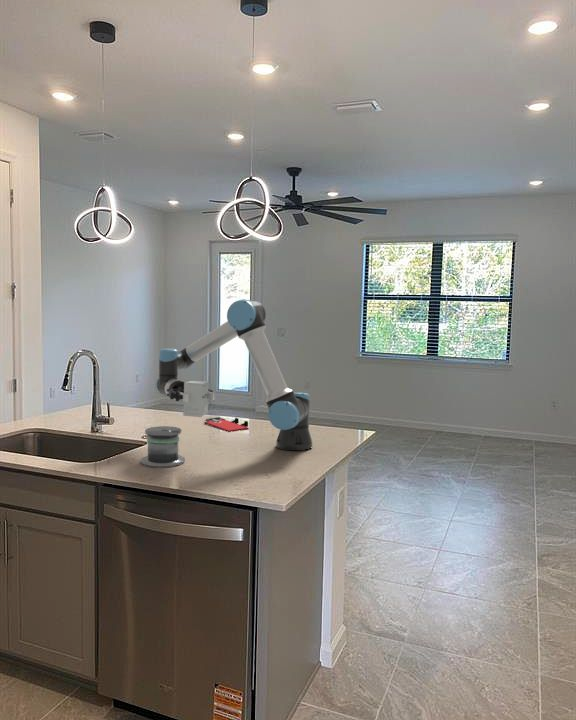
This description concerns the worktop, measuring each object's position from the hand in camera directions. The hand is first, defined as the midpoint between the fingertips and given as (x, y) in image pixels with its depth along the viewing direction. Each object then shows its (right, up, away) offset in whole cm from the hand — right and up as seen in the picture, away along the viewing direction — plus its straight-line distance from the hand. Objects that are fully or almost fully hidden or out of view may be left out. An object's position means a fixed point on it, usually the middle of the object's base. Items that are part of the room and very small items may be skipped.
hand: (200, 397), depth 217 cm
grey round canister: (-14, -24, -1) cm, 27 cm away
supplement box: (-3, -7, +4) cm, 9 cm away
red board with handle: (+1, -19, +71) cm, 73 cm away
